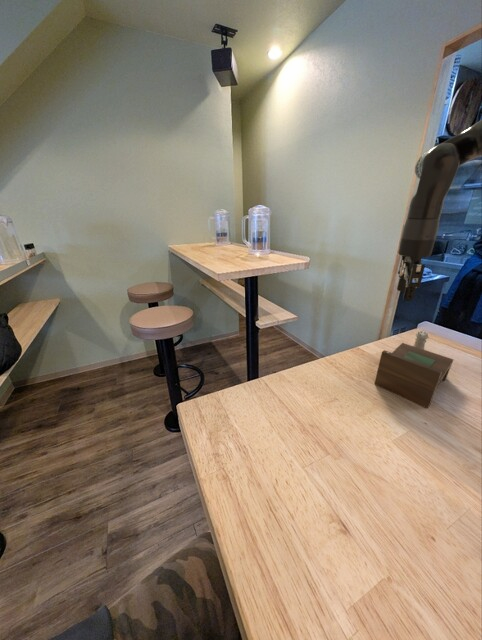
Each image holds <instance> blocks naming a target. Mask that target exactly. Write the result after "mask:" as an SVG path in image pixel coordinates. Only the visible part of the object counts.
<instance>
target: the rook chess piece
mask: <svg viewBox="0 0 482 640" xmlns="http://www.w3.org/2000/svg"><path fill="white" fill-rule="evenodd" d="M415 337H416V338H415V339H414V341H415V342H414V344H413V345H412V346H414V347H417V348H420V349H423V350H425V345H426V343H427V340H428V339H429V337H430V336H429V333H428V332H426V331H424V332H423V330H420V331H417V333H415Z"/></svg>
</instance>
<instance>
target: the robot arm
mask: <svg viewBox="0 0 482 640" xmlns="http://www.w3.org/2000/svg"><path fill="white" fill-rule="evenodd" d="M481 157H482V119H480V120H479V121H477V122H475V123H474V124H473V125H471V126H470V127H468V128H467V129H465V130H464V131H462V132H460V133H458V134H456V135H455V136H452V137H450V138H449V139H447V140H445V141H443V142H441V143H439V144H438V145H435V146H433V147H432V148H430V149H428V150H426V151H425V152H423V153H422V154H421V156H419V158H418V159H417V161H416V163H415V166H414V174H415V176H416V178H417V179H419V181H418V184H417V188H416V192H415V194H414V195H412V197H411V199H410V202H409V205H408V209H407V210H408V211H407V215H406V219H405V221H404V225H403V229H402V232H401V238H400V242H399V246H398V250H397V251H398V252H397V254H398V255H400V256H401V258H400V264H399V267H398V271H397V274H398V278H399V279H398V283H397V286H396V290H397V291H398V292H404V293H403V295H402V299H403V301H406V302H407V301H408V302H412V301H413V300H414V296H415V293H416V289H418V288H421V284H422V280H423V275H424V272H425V268H426V264H425V263H422V259H423V258H428V257H430V256H431V255H432V253H433V249H434V245H435V242H436V239H437V235H438V232H439V228H440V227H439V226H440V219H441V215H442V212H443V207H444V206H445V204H444V203H445V199H446V197H447V194H448V193H449V191H450V189H451V186H452V184H453V182H454V180H455V177H456V175H457V172H458V170H459V168H460V167H461V166H462V165H464V164H466V163H467V162H470V161H472V160H475V159H478V158H481Z"/></svg>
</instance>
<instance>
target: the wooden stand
mask: <svg viewBox="0 0 482 640" xmlns="http://www.w3.org/2000/svg"><path fill="white" fill-rule="evenodd" d="M454 360H455V359H454V358H450V357H447V356H444V355H442V354H438V353H436V352H432V351H429V350H426V349H424V350H423V349H420V348H417V347H414V346H413V345H411V344H408V343H405V342H402V343H400V344H399V345H398V346H397V347H396V348H395V349H394V350H392V352H391V351H389V350H386V349H384V350H382V351H381V354H380V358H379V362H378V367H377V372H376V375H375V378H374V379H375V380H374V385H376V386H378V387H380V388H383V389H385V390H387V391H389V392H390V393H393V394H395V395H397V396H399V397H402V398H404V399H406V400H409V401H411V402H413V403H415V404H417V405H419V406H421V407H423V408H424V409H425V408H426V409H429V408H430V406H431V404H432V402H433V398H434V396H435V393H436V391H437V388H438V387H439V385H440V383H441V382H445V381H446V380H447V378H448V376H449V372H450V370H451V368H452V366H453V363H454Z"/></svg>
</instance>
